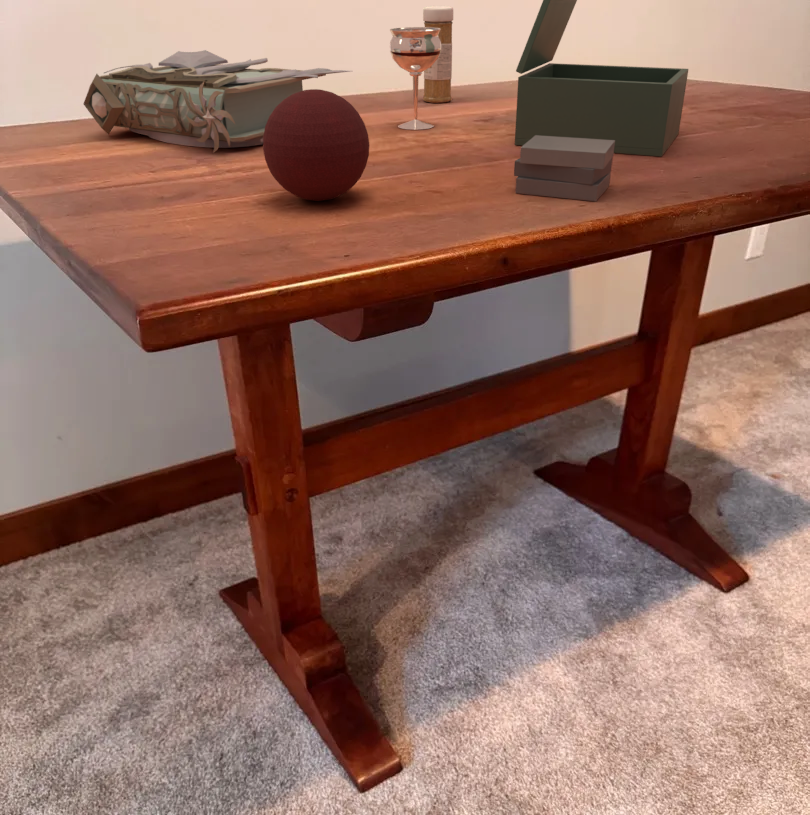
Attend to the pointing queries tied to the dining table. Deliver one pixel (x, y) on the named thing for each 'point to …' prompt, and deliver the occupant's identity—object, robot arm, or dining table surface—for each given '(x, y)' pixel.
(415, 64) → the wineglass
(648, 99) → the chest
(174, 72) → the ornate book
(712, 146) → the dining table surface
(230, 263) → the dining table surface
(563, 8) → the lid
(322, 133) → the decorative ball
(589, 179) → the grey books
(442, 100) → the sprinkles bottle
